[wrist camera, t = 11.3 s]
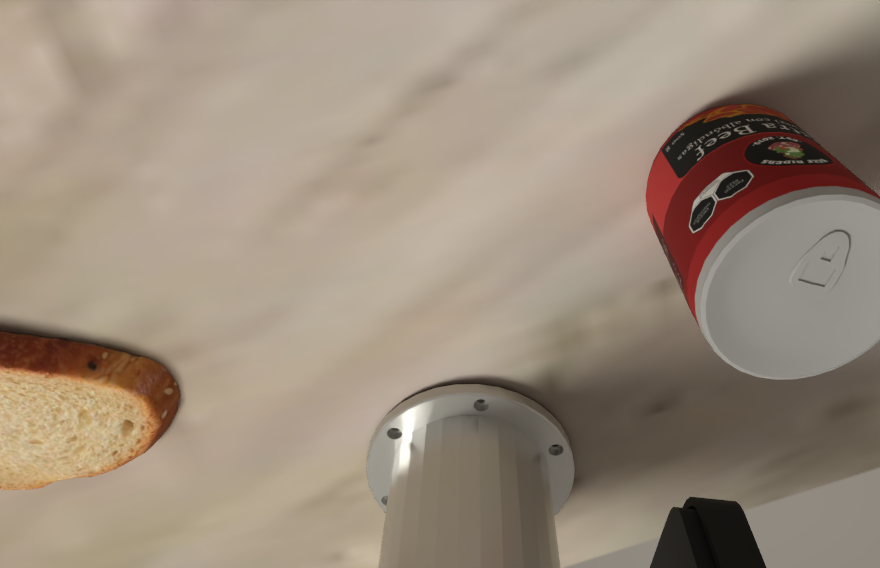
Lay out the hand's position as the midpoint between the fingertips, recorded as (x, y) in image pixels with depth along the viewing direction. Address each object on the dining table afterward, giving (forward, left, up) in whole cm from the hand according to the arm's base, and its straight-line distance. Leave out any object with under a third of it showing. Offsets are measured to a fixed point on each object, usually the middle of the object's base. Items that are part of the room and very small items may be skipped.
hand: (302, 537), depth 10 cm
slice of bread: (-23, +24, -29) cm, 44 cm away
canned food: (-5, -15, -28) cm, 33 cm away
